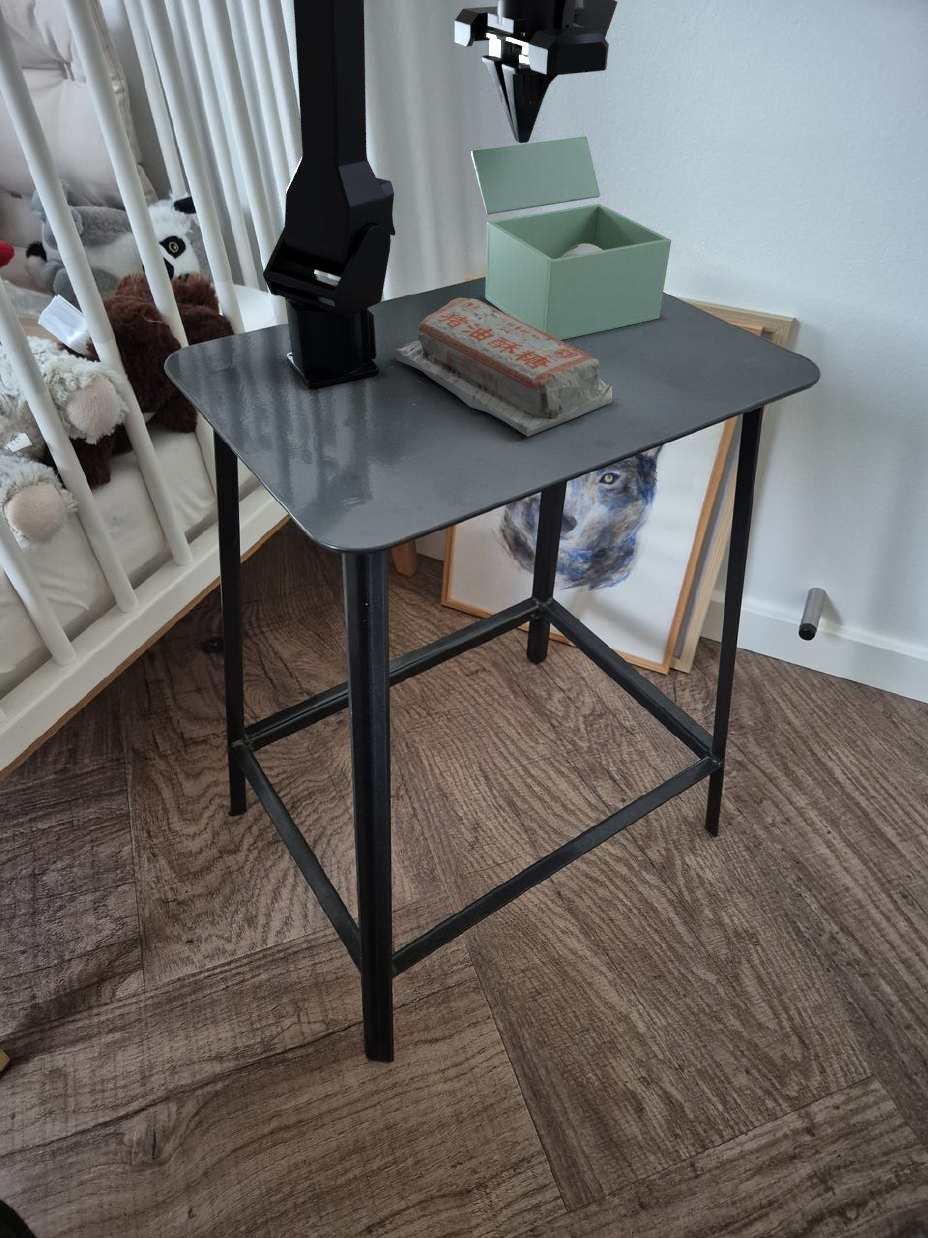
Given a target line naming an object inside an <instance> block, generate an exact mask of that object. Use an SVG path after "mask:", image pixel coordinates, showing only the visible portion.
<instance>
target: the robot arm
mask: <svg viewBox="0 0 928 1238" xmlns="http://www.w3.org/2000/svg"><path fill="white" fill-rule="evenodd" d="M617 5H618V1H617V0H496V6H482V7H465V8H464V7H463V8H462V9H461V11H459V13H458V15H456V18H455V19H454V43H455V44H457V45H460V46H464V47H466V48H467V47H472V46H473V45H474V42H484V41H486V42H487V41H489V52H488V53H489V54H487V55H485V54H484V55H482V56H481V60H482V63H483V64H485V66H486V68H487V70H488V73H489V76H490V78H491V80H492V83H493V85H494V87H495V90H496V92H497V95H498V97H499V99H500V104H501V105H502V108H503V110H504V113H505V116H506V119H507V122H508V124H509V127H510V130H511V132H512V135H513V137H514V140H515V142H517V143H519V144H528V142H529V141H530V140H531V136H532V133H533V130H534V127H535V125H536V122H537V119H538V116H539V113H540V110H541V108H542V105H543V102H544V99H545V96H546V95H547V94H546V93H547V92H548V89H549V87H550V85H551V83H552V82H553V81H554V80H555V79H556V78H557V77H558V76H563V75H574V74H583V73H594V72H602V71H603V72H604V71H606V70H607V69H608V68H607V67H608V56H609V49H610V48H609V46H610V44H609V42H608V41H607V39H606V38H607V35H608V33H609V29H610V25H611V23H612V20H613V18H614V15H615V11H616V8H617V7H618V6H617ZM293 14H294V17H293V18H294V31H295V48H296V49H295V50H296V63H297V64H296V66H297V67H296V69H297V85H298V101H299V103H298V104H299V119H300V135H301V137H300V138H301V158H300V160H299V162H298V165H297V167H296V169H295V170H294V173H293V175H292V177H291V180H290V183H289V184H288V186H287V188H286V192H285V207H284V209H285V211H284V226H283V228H282V231H281V232H280V235H279V237H278V240H277V242H276V244H275V246H274V247H273V248H274V249H273V250H272V252H271V254H270V257H269V259H268V261H267V264H266V265H265V267H264V270H263V272H262V277H263V279H264V281H265V284H266V286H267V288H268V291H269V293H270V294H271V295H273V296H275V297H278V296H279V297H282V298H284V302H285V311H286V318H287V324H288V325H287V326H288V332H289V333H288V334H289V340H290V349H291V352H289V353H287V354H286V360H287V362H288V363H289V364H290V366H291V367H292V368H293V369H294V371H295V372H296V373H297V375H298V376H299V377H300V378H301V379H302V381H303V382H304V383H305V385H306V386H307V387H308V388H311V389H314V388H321V387H324V386H329V385H334V384H339V383H343V382H347V381H353V380H357V379H361V378H365V377H370V376H376V375H378V374H380V367H379V366H378V364H377V363H376V362H375V361H374V360H375V359H376V358H377V343H376V341H377V340H376V327H375V326H376V325H375V314H374V313H373V312H372V311H371V310H370V309H369V308H371V307H373V306H375V305H377V304H379V303H381V302H382V299H383V293H384V288H385V281H386V277H387V269H388V263H389V260H390V259H389V258H390V253H391V243H392V239H391V236H392V237H395V235H396V229H395V224H394V214H393V212H394V199H395V191H394V187H393V183H392V181H391V180H388V179H383V178H379V177H377V176H376V174H375V172H374V170H373V168H372V166H371V164H370V161H369V159H368V151H367V150H368V149H367V102H366V101H367V98H366V96H367V95H366V91H367V90H366V41H365V0H293ZM315 271H318V272H321V273H324V274H327V275H330V276H334V277H337V278H339V280H336V279H334V278H330V277H327V276H324V275H322V274H321V275H320V274H317V273H315Z"/></svg>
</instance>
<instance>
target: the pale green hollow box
mask: <svg viewBox="0 0 928 1238" xmlns="http://www.w3.org/2000/svg"><path fill="white" fill-rule="evenodd" d="M578 244H592V245H595V246H597V247H599V248H601V249H602V251H596V252H591V253H585V254H580V255H574V256H569V257H563V258H560V257H561V256H562V255H563V254H564V253H565V252H566V251H567V250H568V249H570V248H571V247H573V246H575V245H578ZM671 245H672V239H670V238H669V237H666V236H665V235H663V234H661V233H659V232H657V231H655V230H652V229H650V228H649V227H647V226H645V225H642V224H640V223H639V222H637V221H634V219H630V218H629V217H628V216H624V215H623V214H621V213H619V212H617V211H615V210H613V209H612V208H609V207H607V206H605V205H603V204H602V203H595V204H589V205H584V206H576V207H571V208H570V207H569V208H565V209H559V210H553V211H552V210H551V211H545V212H541V213H540V212H539V213H533V214H527V215H521V216H515V217H508V218H502V219H495V220H489V221H486V245H485V247H486V248H485V249H486V250H485V251H486V254H485V290H484V292H485V293H484V295H485V296H484V298H485V300H487V301H488V302H489V303H490V304H492V305H493V306H495V307H496V308H498V309H499V311H501V312H503V313H505V314H507V315H510V316H512V317H513V318H515V319H518V320H519V321H521V322H524V323H526V324H528V325H530V326H532V327H534V328H536V329H538V330H540V331H542V332H544V333H546V334H548V335H550V336H552V337H554V338H556V339H558V340H560V341H563V340H567V339H573V338H578V337H581V336H586V335H590V334H595V333H600V332H604V331H608V330H614V329H618V328H622V327H628V326H631V325H636V324H641V323H646V322H650V321H654V320H658V319H660V314H661V309H662V303H663V302H662V301H663V296H664V289H665V282H666V277H667V270H668V264H669V258H670V251H671Z"/></svg>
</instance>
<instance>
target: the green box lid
mask: <svg viewBox="0 0 928 1238" xmlns="http://www.w3.org/2000/svg"><path fill="white" fill-rule="evenodd" d="M470 155H471V159H472V164H473V168H474V171H475V176H476V180H477V183H478V187H479V190H480V191H479V192H480V196H481V198H482V202H483V207H484V210H485V215H486V216H487V215H493V214H494V215H495V214H500V213H506V212H514V211H519V210H526V209H532V208H539V207H544V206H551V205H558V204H564V203H570V202H576V201H583V200H590V199H596V198H600V197H601V191H600V187H599V183H598V180H597V175H596V171H595V166H594V163H593V158H592V154H591V149H590V145H589V140H588V137H587V136H586V135H585V136H584V135H583V136H576V137H570V138H563V139H561V138H560V139H553V140H547V141H538V142H537V141H536V142H531V143H521V144H515V145H507V146H501V147H500V146H498V147H491V148H484V149H483V148H482V149H476V150H471V152H470Z"/></svg>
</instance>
